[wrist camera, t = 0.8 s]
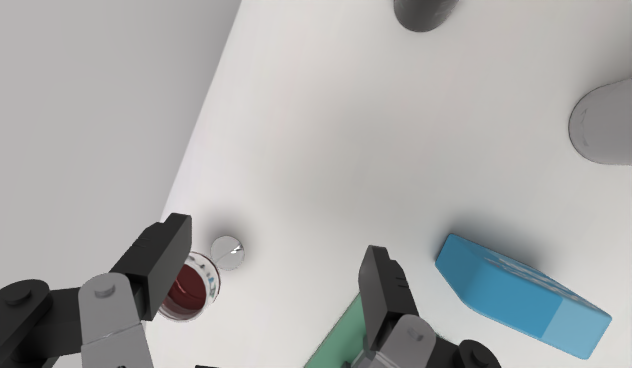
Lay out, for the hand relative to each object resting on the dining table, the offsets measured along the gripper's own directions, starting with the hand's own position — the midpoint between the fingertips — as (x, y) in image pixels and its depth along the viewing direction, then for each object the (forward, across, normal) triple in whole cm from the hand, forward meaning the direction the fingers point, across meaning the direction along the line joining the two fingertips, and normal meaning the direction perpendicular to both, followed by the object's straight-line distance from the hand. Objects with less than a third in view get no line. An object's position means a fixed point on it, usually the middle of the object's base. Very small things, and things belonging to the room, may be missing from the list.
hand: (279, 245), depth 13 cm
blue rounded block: (+18, -26, +13) cm, 35 cm away
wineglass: (+22, +7, +22) cm, 32 cm away
